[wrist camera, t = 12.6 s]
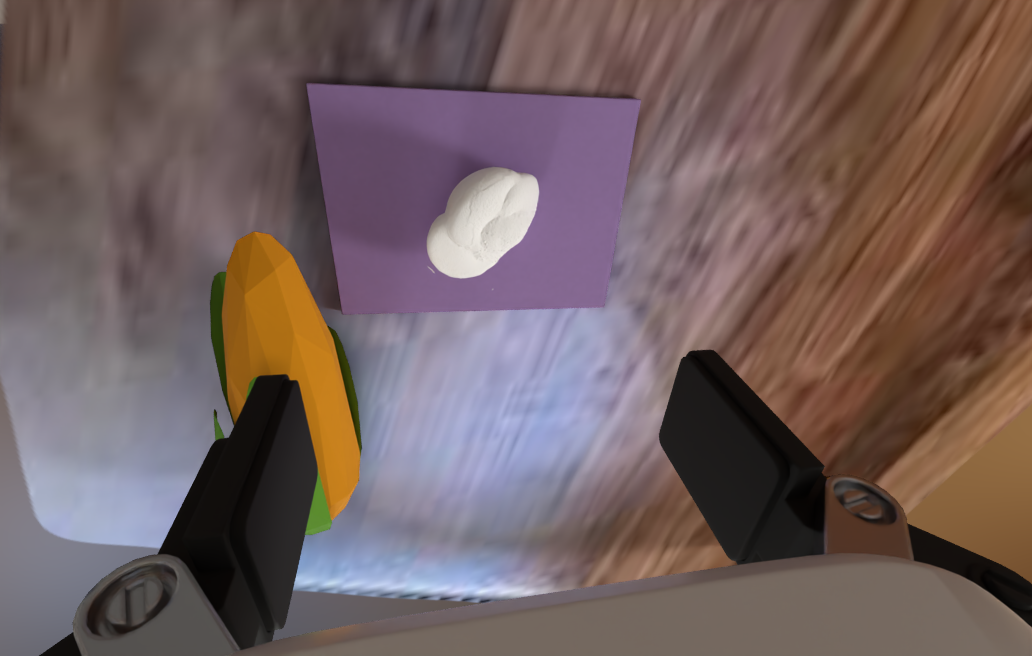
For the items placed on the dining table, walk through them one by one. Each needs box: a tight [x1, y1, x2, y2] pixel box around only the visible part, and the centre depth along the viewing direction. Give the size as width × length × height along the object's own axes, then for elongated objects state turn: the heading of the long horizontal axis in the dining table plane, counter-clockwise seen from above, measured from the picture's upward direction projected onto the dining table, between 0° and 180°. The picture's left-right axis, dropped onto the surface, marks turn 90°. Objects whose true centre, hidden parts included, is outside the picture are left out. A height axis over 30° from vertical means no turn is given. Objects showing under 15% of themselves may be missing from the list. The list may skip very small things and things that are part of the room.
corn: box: [210, 232, 362, 535], centre depth 26 cm, size 7×8×20 cm
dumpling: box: [427, 167, 539, 290], centre depth 24 cm, size 7×5×4 cm
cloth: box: [306, 83, 641, 315], centre depth 26 cm, size 16×12×1 cm
